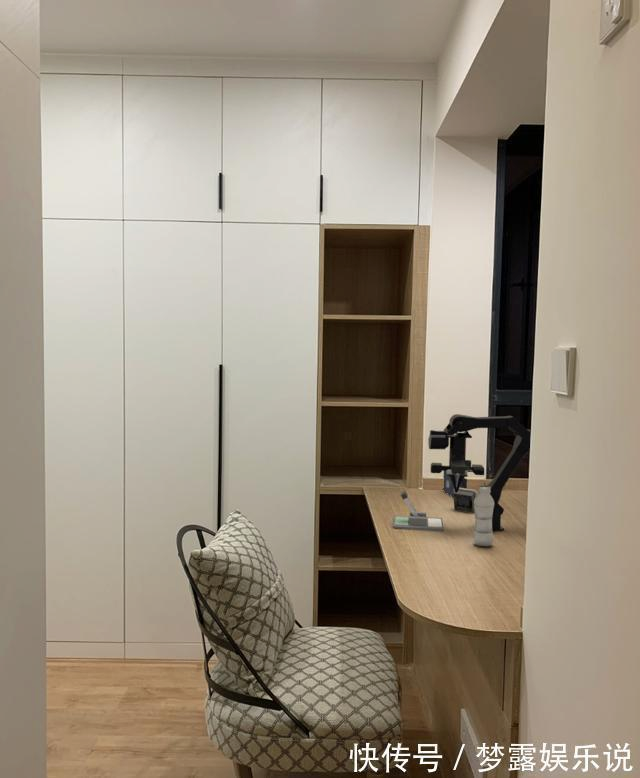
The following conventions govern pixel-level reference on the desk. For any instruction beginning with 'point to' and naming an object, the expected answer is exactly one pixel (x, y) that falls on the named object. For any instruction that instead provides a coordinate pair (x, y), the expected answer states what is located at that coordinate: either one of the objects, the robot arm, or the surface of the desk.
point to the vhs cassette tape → (449, 485)
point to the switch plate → (418, 522)
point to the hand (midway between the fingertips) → (456, 492)
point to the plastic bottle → (483, 517)
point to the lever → (409, 503)
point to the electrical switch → (464, 499)
